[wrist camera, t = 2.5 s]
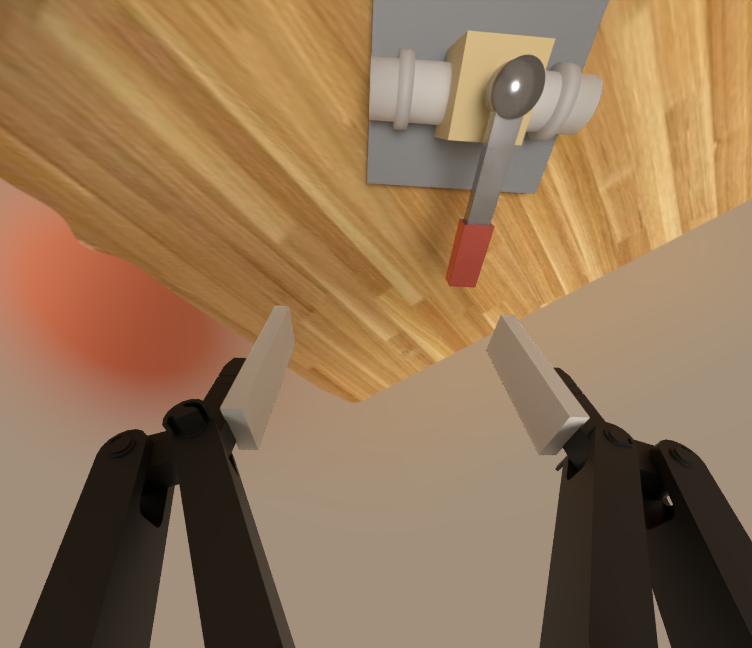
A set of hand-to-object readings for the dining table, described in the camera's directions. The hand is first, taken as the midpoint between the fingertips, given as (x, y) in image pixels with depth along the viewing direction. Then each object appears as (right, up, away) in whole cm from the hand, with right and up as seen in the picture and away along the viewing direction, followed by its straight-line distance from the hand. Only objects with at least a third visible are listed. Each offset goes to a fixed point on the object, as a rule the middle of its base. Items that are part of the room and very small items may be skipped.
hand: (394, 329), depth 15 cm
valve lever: (+8, +12, +8) cm, 16 cm away
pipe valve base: (+8, +24, +13) cm, 28 cm away
